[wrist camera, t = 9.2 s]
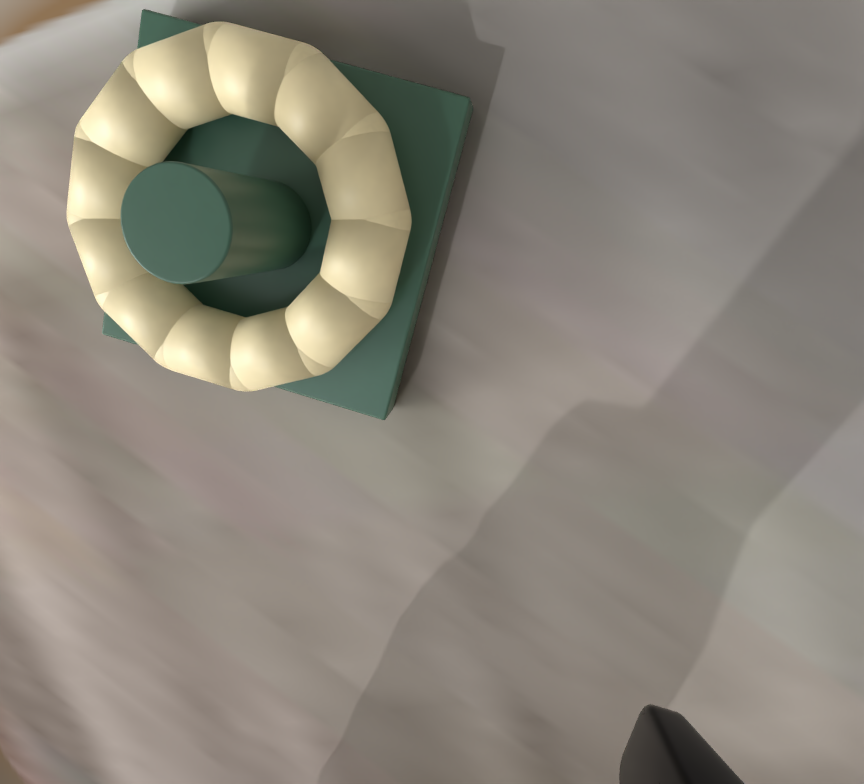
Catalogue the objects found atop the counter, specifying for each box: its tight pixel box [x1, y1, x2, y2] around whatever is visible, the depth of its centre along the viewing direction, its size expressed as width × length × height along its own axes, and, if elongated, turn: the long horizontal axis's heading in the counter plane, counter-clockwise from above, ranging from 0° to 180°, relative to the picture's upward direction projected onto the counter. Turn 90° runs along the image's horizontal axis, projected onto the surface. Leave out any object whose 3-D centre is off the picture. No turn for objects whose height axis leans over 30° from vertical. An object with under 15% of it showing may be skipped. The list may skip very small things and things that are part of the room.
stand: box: [102, 9, 473, 420], centre depth 16 cm, size 9×9×6 cm
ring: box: [67, 22, 412, 391], centre depth 16 cm, size 9×9×2 cm
